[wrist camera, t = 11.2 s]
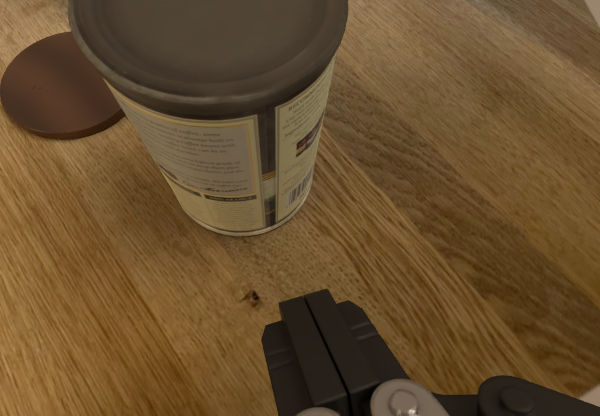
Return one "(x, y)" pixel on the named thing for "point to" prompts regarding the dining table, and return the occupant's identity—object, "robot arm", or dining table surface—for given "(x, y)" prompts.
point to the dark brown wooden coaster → (57, 91)
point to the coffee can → (221, 96)
